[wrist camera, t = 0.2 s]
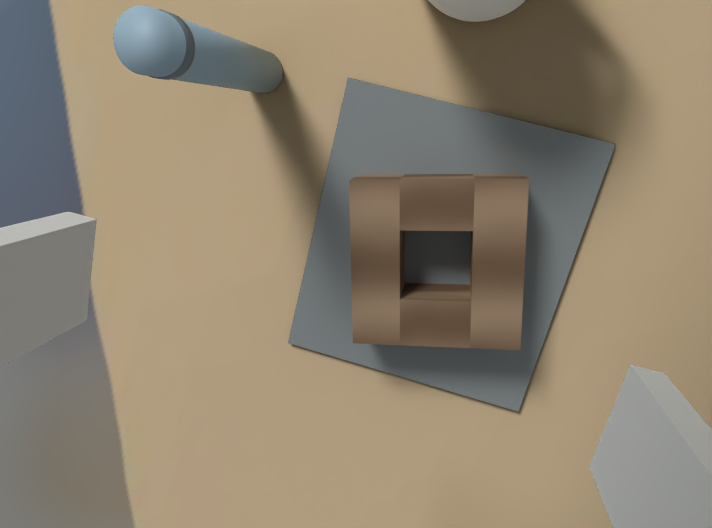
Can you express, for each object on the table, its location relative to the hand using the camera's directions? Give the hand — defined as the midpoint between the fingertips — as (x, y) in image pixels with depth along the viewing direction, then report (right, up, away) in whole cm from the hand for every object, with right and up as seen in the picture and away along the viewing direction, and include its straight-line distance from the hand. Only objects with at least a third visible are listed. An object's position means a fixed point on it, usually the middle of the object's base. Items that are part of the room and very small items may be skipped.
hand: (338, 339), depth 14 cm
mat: (+6, +3, +27) cm, 28 cm away
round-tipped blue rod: (-6, +15, +26) cm, 31 cm away
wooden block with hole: (+6, +3, +27) cm, 27 cm away
